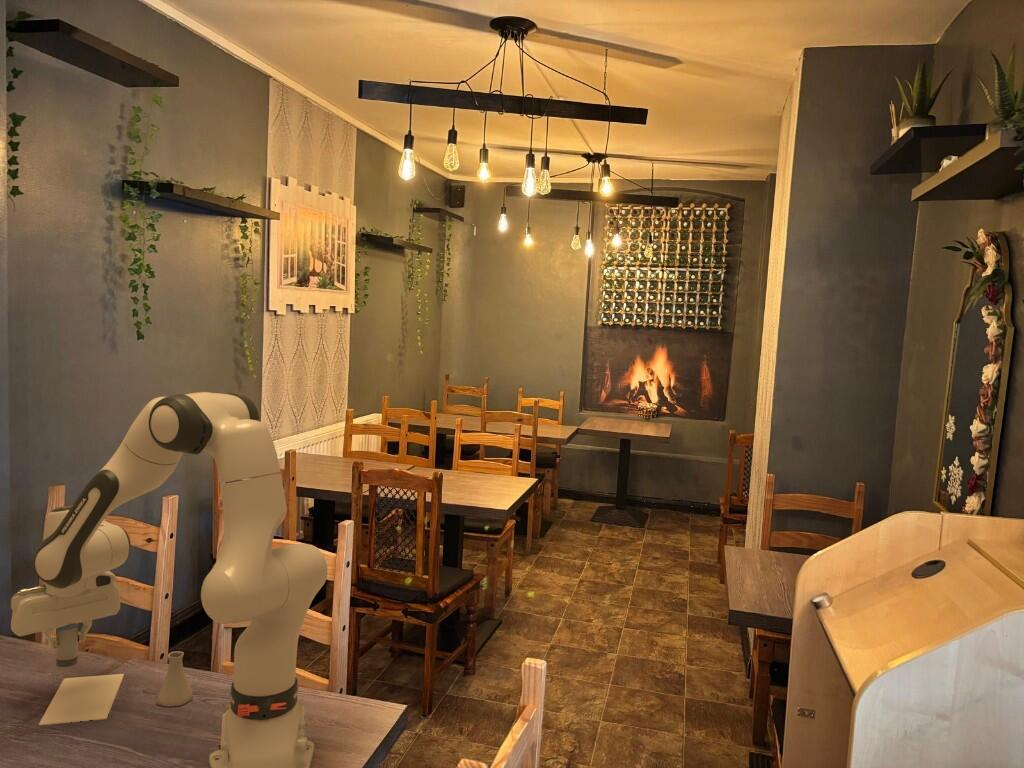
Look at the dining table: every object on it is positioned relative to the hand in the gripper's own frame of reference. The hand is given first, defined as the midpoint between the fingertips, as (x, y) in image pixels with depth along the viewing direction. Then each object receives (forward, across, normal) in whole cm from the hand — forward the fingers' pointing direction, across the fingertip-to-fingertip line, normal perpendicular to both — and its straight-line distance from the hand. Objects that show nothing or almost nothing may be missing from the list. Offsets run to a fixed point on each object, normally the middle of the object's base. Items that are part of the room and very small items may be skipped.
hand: (67, 644), depth 164 cm
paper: (+11, +2, -4) cm, 12 cm away
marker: (+4, 0, 0) cm, 4 cm away
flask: (+11, +16, -17) cm, 26 cm away
